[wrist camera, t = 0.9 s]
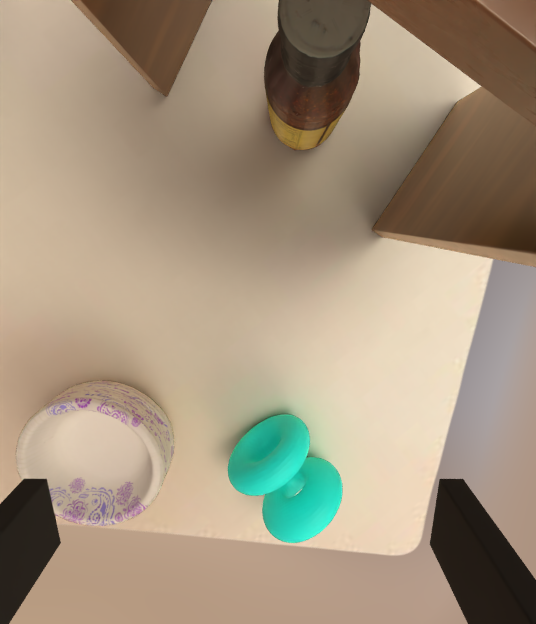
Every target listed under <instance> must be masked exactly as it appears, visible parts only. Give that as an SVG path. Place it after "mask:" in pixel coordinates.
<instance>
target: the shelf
mask: <svg viewBox="0 0 536 624" xmlns="http://www.w3.org/2000/svg"><path fill="white" fill-rule="evenodd" d="M71 1H72V2H73V3H74V4H75V5H76V6H77V7H78V8H79V9H80V10H81V11H82V13H83V14H84V15H85V16H86V17H87V18H88V19H89V20H90V21H91V22H92V23H93V24H94V25H95V26H96V27H97V29H98V30H99V31H100V32H101V33H102V34H103V35H104V36H105V37H106V38H107V39H108V40H109V41H110V42H111V43H112V45H113V46H114V47H115V48H116V49H117V50H118V51H119V52H120V53H121V54H122V55H123V56H124V57H125V58H126V59H127V61H128V62H129V63H130V64H131V65H132V66H133V67H134V68H135V69H136V70H137V71H138V72H139V73H140V74H141V75H142V76H143V78H144V79H145V80H146V81H147V82H148V83H149V84H150V85H151V86H152V87H153V88H154V89H155V90H157V91H159V92H160V93H162V94H163V95H165V96H166V97H167V96H168V93H169V91H170V89H171V87H172V85H173V83H174V81H175V78H176V76H177V74H178V72H179V70H180V68H181V66H182V63H183V61H184V59H185V57H186V55H187V53H188V50H189V48H190V46H191V44H192V42H193V40H194V38H195V35H196V33H197V31H198V29H199V27H200V25H201V22H202V20H203V18H204V16H205V14H206V12H207V10H208V7H209V5H210V3H211V1H212V0H71ZM367 1H369V2H370V3H371V4H373V5H374V6H375V7H377V8H378V9H379V10H381V11H382V12H383V13H385V14H386V15H387V16H389V17H390V18H391V19H393V20H394V21H395V22H397V23H398V24H399V25H401V26H402V27H403V28H405V29H406V30H407V31H409V32H410V33H411V34H413V35H414V36H415V37H417V38H418V39H419V40H421V41H422V42H423V43H425V44H426V45H427V46H429V47H430V48H431V49H433V50H434V51H435V52H437V53H438V54H439V55H441V56H442V57H443V58H445V59H446V60H447V61H449V62H450V63H451V64H453V65H454V66H455V67H457V68H458V69H459V70H461V71H462V72H463V73H465V74H466V75H467V76H469V77H470V78H471V79H473V80H474V81H475V82H477V83H478V84H479V85H481V86H482V87H480V88H479V89H477V90H475V91H474V92H472V93H471V94H469V95H467V96H466V97H464V98H463V99H461V100H459V101H458V102H457V103H456V104H455V106H454V107H453V109H452V110H451V112H450V113H449V115H448V116H447V118H446V119H445V121H444V122H443V124H442V125H441V127H440V128H439V130H438V131H437V133H436V134H435V136H434V137H433V139H432V140H431V142H430V143H429V145H428V146H427V148H426V149H425V151H424V152H423V154H422V155H421V157H420V158H419V160H418V161H417V163H416V164H415V166H414V167H413V169H412V170H411V172H410V173H409V175H408V176H407V178H406V179H405V181H404V182H403V184H402V185H401V187H400V188H399V190H398V191H397V193H396V194H395V196H394V197H393V199H392V200H391V202H390V203H389V205H388V206H387V208H386V209H385V211H384V212H383V214H382V215H381V216H380V218H379V219H378V221H377V222H376V224H375V225H374V227H373V228H372V231H374V232H375V233H377V234H378V235H380V236H381V237H384V238H390V239H395V240H400V241H405V242H410V243H415V244H420V245H425V246H430V247H436V248H441V249H446V250H451V251H456V252H461V253H466V254H471V255H476V256H482V257H487V258H492V259H497V260H502V261H507V262H512V263H517V264H523V265H528V266H533V267H536V0H367Z"/></svg>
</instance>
